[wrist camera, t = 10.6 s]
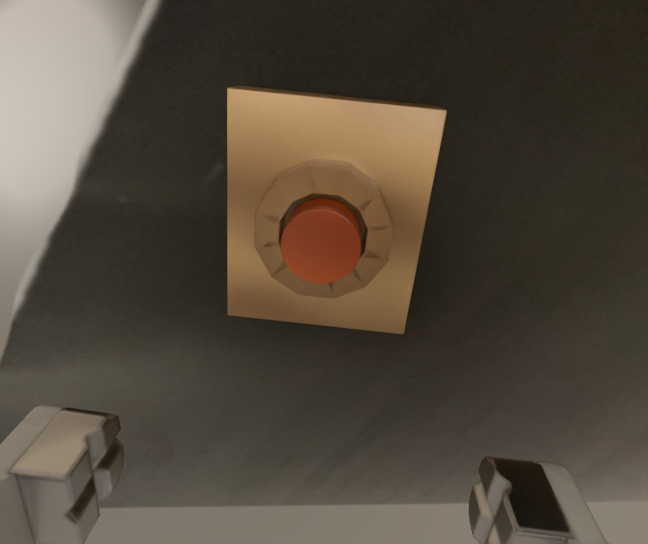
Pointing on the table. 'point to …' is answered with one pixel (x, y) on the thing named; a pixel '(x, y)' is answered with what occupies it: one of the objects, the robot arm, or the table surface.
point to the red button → (321, 241)
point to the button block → (333, 183)
